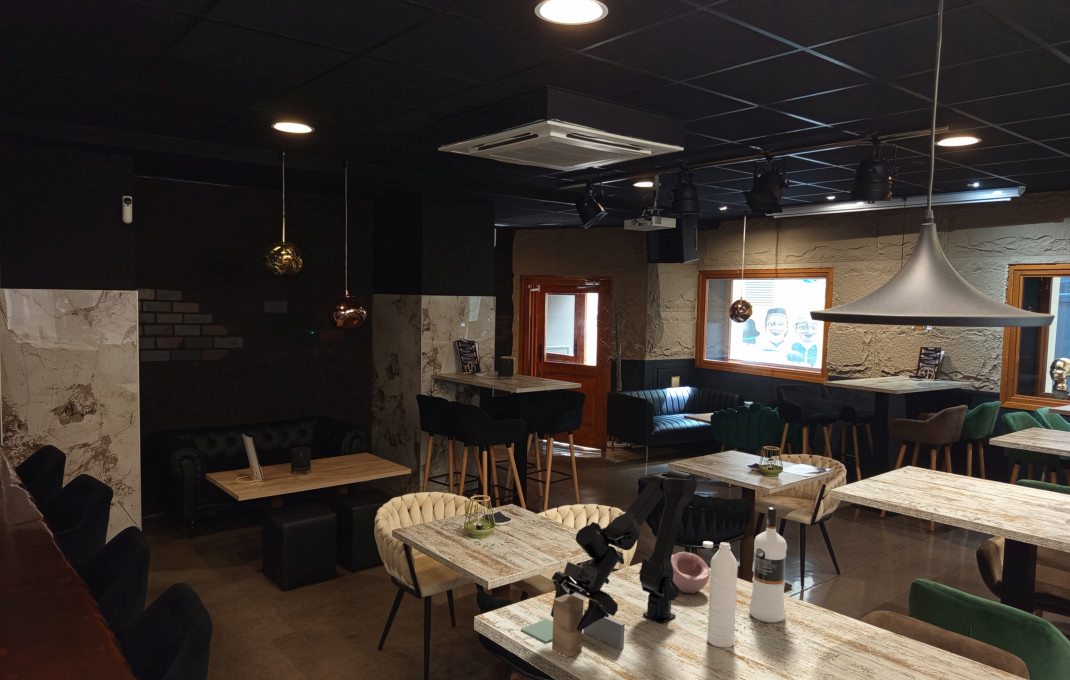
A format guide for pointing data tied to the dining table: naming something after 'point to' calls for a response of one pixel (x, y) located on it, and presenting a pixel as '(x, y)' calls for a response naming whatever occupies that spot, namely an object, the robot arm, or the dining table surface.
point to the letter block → (567, 625)
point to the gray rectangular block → (607, 631)
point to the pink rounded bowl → (689, 572)
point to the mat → (540, 630)
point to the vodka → (769, 573)
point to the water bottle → (722, 596)
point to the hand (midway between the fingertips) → (564, 623)
